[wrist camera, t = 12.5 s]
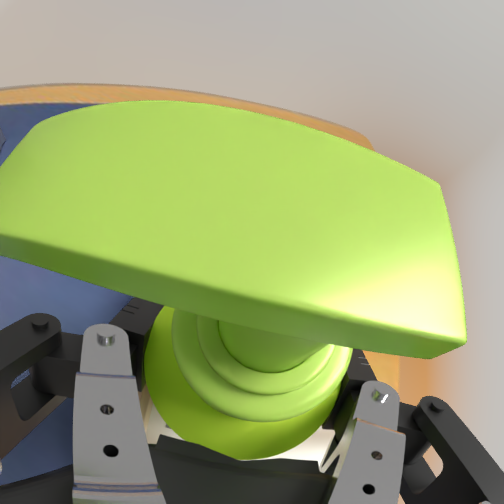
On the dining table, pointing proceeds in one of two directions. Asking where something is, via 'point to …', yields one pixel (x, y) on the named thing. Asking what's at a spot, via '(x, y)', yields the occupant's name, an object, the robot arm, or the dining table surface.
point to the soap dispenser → (239, 256)
